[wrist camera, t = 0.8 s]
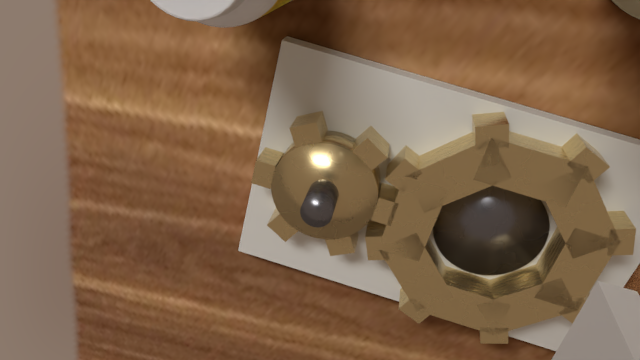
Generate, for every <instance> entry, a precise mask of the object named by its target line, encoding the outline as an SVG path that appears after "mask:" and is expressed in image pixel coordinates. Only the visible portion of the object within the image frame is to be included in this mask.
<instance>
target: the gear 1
mask: <svg viewBox="0 0 640 360" xmlns="http://www.w3.org/2000/svg"><path fill="white" fill-rule="evenodd" d="M289 129H290V132H291V135H292V138H293V141H294V142H293V143H292V144H291V145H290V146H289V147H288V149H287V150H286V152H285V153H283V152H280V151H276V150H273V149H270V148H267V147H265V148H264V150H263V151H262V153H261V154H260V155H259V157H258V158H257V160H256V163H255V168H254V173H253V178H252V184H256V185H259V186H262V187H265V188H268V189H271V192H272V198H273V201H274V204H275V206H276V209H275V210H274V212H273V214H272V216H271V218H270V220H269V222H268V224H267V226H268V227H269V228H270V229H272V230H273V231H274V232H275V233H276V234H277V235H278V236H279V237H280V238H281V239H282V240H284V241H285V242H286V241H287V240H288V239H289V238H291V237H292V236H293V235H294V234H296V233H297V232H298V231H299V232H301V233H303V234H305V235H308V236H311V237H314V238H319V239H325V241H326V244H327V247H328V251H329V254H330V256H335V255H342V254H349V253H355V250H356V245H357V241H358V236H359V235H358V231H359V230H361V229H362V228H363V227H364V226H365V225H366V224H367V223H368V222H369V221H370V219H371V220H372V221H375V222H378V223H382V224H385V225H388V226H391V223H392V221H393V218H394V215H395V212H396V208H397V207H398V204H397V203H396V204H397V205H394V204H395V195H396V187H394V186H391V185H388V184H385V183H381V177H380V171H379V167H378V165H379V164H380V163H382V162H383V161H384V160H385V159H386V158H387V157H388V151H389V145H390V144H389V143H388V142H387V141H386V140H385V139H384V138H383V137H382V136H381V135H380V134H379V133H378V132H377V131H376V130H375V129H374V128H373V127H372V126H370V127H368V128H367V129H366V130H365V131H364V132H363V133H362V134H360V135H359V136H358V137H357V138H356V139H355V138H353V137H351V136H349V135H347V134H344V133H341V132H337V131H329V130H328V128H327V125H326V121H325V118H324V114H323V111H319V112H315V113H310V114H306V115H301V116H297V117H296V119H295V120H294V122H293V123H292V125H291V126H290V128H289ZM283 154H284V155H283ZM380 183H381V185H380ZM393 206H394V207H393ZM395 207H396V208H395ZM393 208H394V209H393ZM393 210H394V212H393ZM393 214H394V215H393ZM392 215H393V216H392ZM391 219H392V220H391ZM390 221H391V222H390ZM387 223H388V224H387ZM389 223H390V224H389Z"/></svg>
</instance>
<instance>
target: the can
mask: <svg viewBox="0 0 640 360" xmlns="http://www.w3.org/2000/svg"><path fill="white" fill-rule="evenodd" d="M612 1H613V2H614V3H615V4H616V5H617V6H618V7H619V8H620V9H622V10H623V11H625V12H626V13H628V14H629V15H631V16H633V17H635V18H638V19H640V0H612Z"/></svg>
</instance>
